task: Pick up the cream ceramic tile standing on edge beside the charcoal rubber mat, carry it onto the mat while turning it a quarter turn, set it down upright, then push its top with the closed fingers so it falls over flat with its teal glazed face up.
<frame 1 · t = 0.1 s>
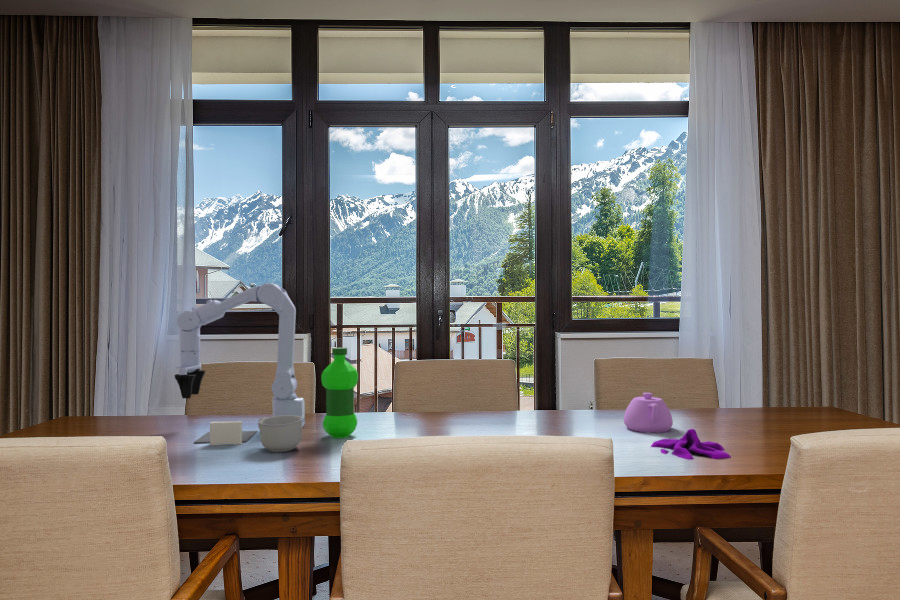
hand: (190, 396, 189), 10 cm above the table, tool pointing down, fingers open, 7 cm apart
plastic bottle: (340, 436, 178), on the table
teapot: (647, 429, 186), on the table
teacup: (277, 449, 164), on the table
cloth: (689, 454, 157), on the table
mat: (226, 437, 177), on the table
tile: (226, 444, 170), on the table
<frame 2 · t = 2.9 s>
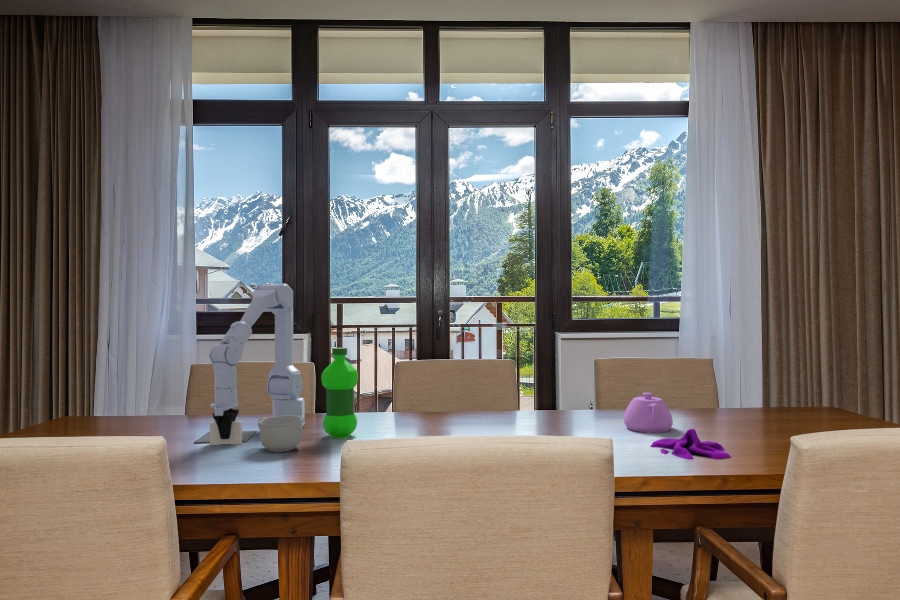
hand: (226, 437, 170), 2 cm above the table, tool pointing down, fingers closed on tile, 2 cm apart
tile: (226, 443, 170), on the table, touching gripper
everything else where it was.
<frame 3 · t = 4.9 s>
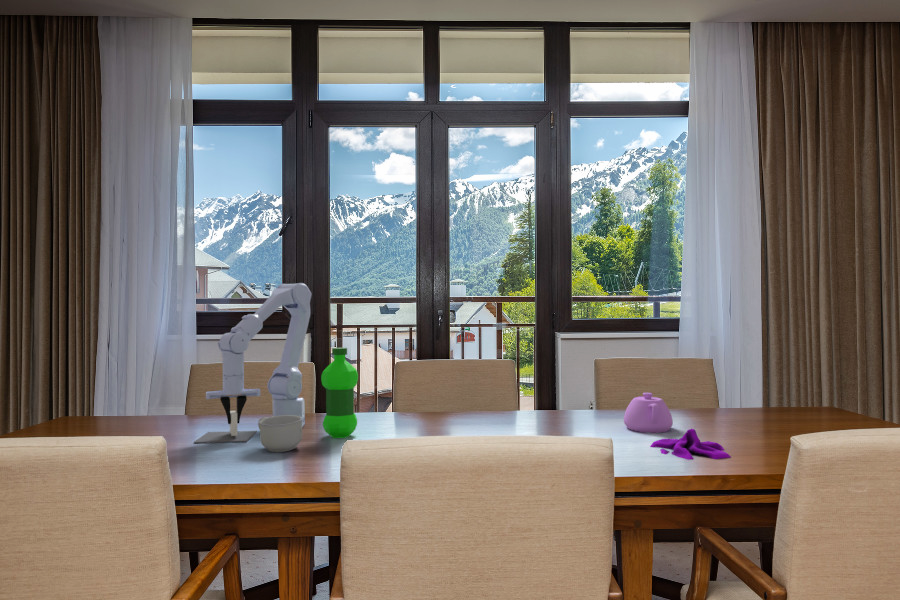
hand: (233, 423, 178), 4 cm above the table, tool pointing down, fingers closed on tile, 2 cm apart
tile: (233, 433, 178), point 1 cm above the table, touching gripper
everything else where it was.
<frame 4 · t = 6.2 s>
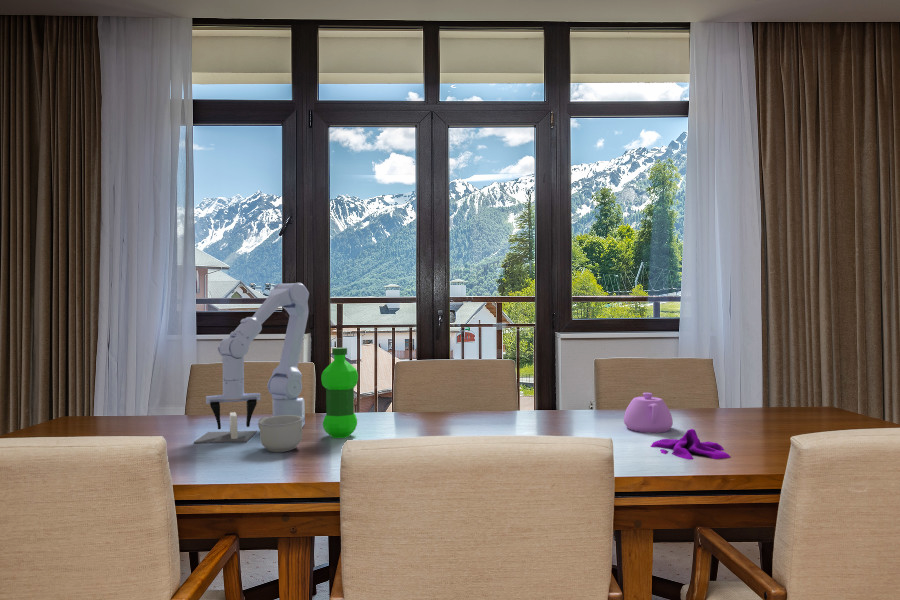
hand: (233, 427, 178), 3 cm above the table, tool pointing down, fingers open, 7 cm apart
tile: (233, 435, 178), resting on mat
everything else where it was.
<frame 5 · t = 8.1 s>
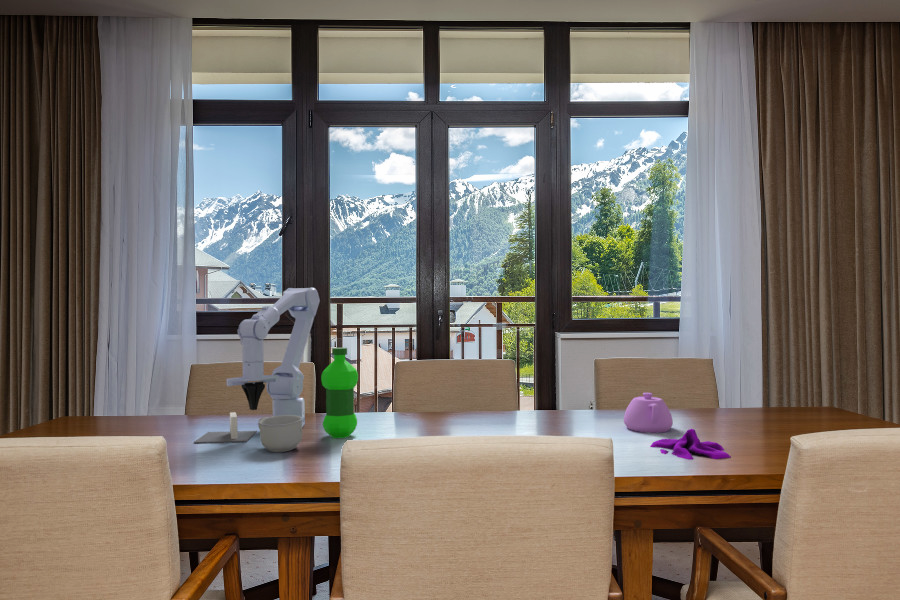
hand: (253, 409, 178), 8 cm above the table, tool pointing down, fingers closed
nothing on the table moved.
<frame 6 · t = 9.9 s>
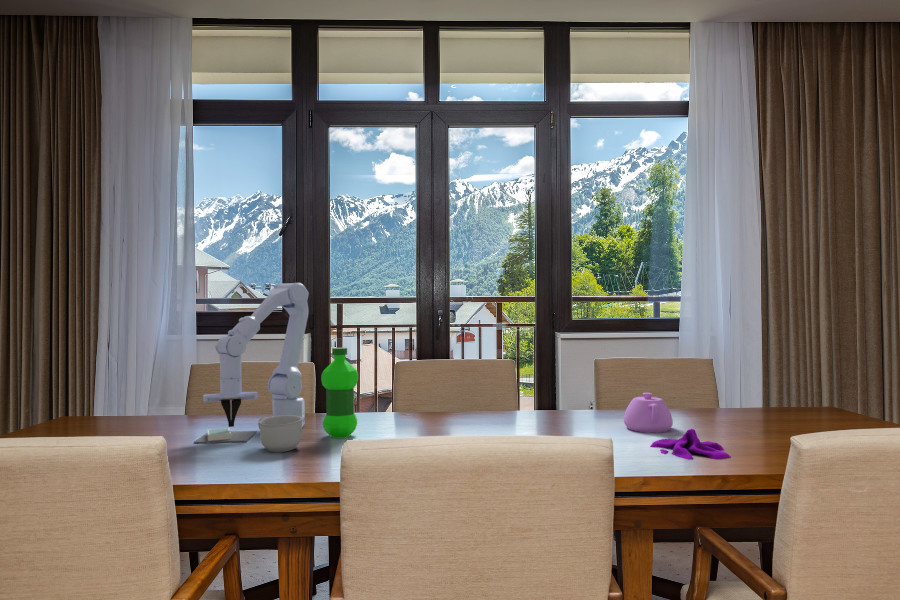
hand: (231, 426, 177), 3 cm above the table, tool pointing down, fingers closed
tile: (230, 433, 177), point 1 cm above the table, tilted 90°, touching mat
everything else where it was.
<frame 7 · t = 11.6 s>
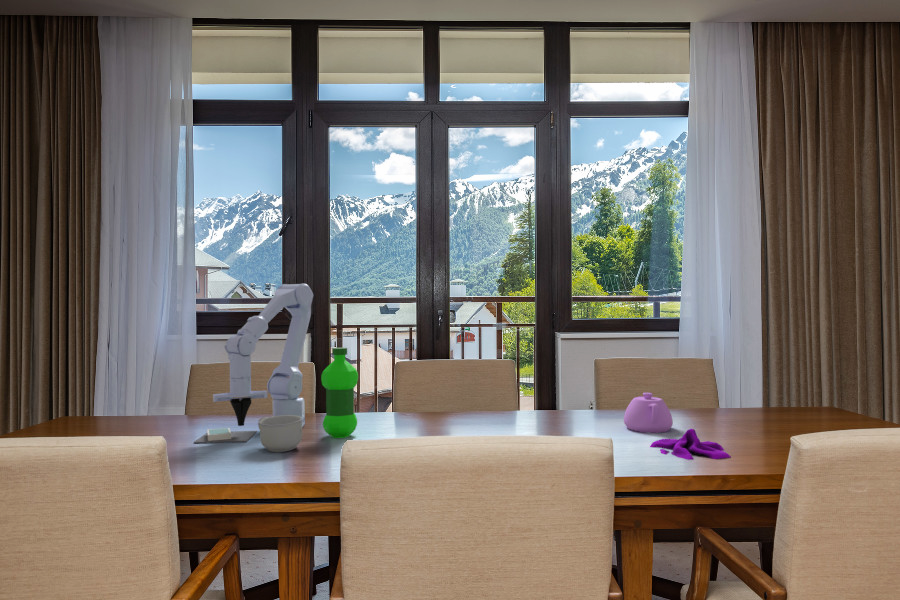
hand: (240, 425, 178), 3 cm above the table, tool pointing down, fingers closed
nothing on the table moved.
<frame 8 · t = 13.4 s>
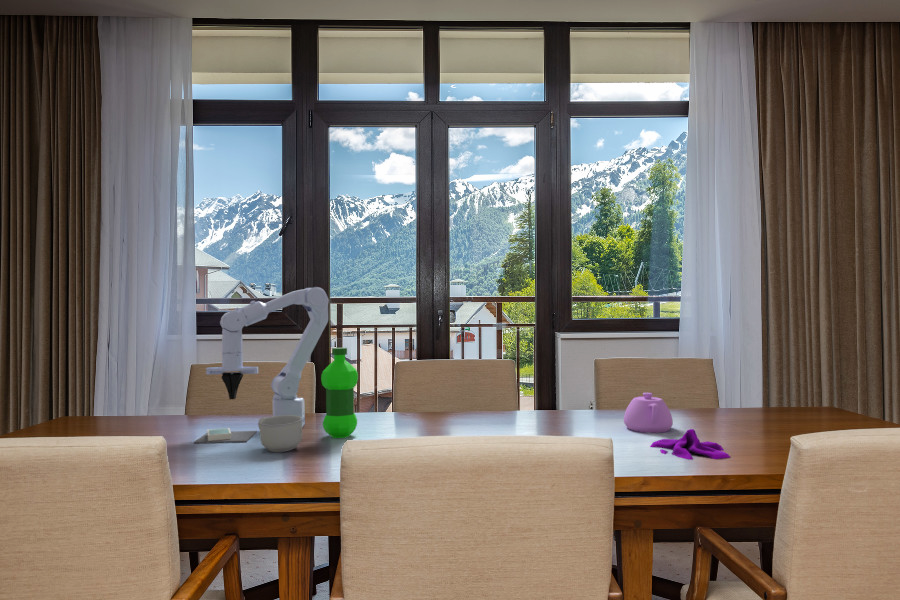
hand: (232, 398, 184), 10 cm above the table, tool pointing down, fingers closed
nothing on the table moved.
at the end: tile tilted 90°; tile inside the target area (1.0 cm from its centre), point 1.2 cm above the table; the gripper is holding nothing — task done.
